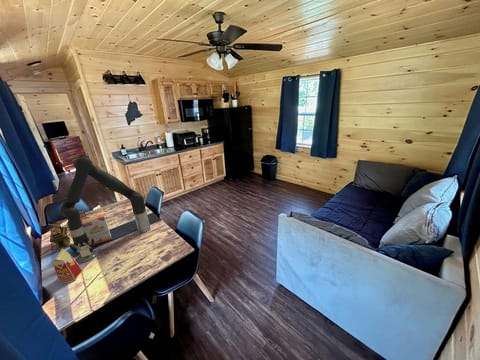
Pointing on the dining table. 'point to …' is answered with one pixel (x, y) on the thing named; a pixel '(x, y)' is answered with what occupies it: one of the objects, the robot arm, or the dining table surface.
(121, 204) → the dining table surface
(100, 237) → the cracker box
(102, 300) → the dining table surface
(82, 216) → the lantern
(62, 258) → the milk carton
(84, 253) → the cube
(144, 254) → the dining table surface
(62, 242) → the olive piece
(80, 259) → the disc
